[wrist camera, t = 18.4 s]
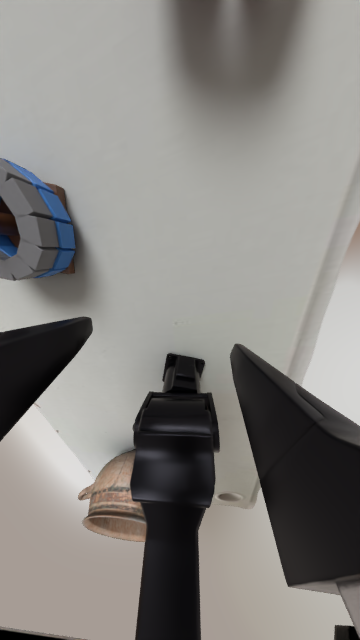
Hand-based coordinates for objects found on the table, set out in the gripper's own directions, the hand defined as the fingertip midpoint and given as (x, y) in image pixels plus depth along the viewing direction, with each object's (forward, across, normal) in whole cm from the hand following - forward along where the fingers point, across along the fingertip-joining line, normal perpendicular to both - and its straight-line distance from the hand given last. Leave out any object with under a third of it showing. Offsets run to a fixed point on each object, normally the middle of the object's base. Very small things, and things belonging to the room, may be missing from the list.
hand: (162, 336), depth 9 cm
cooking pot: (+12, +2, +48) cm, 50 cm away
